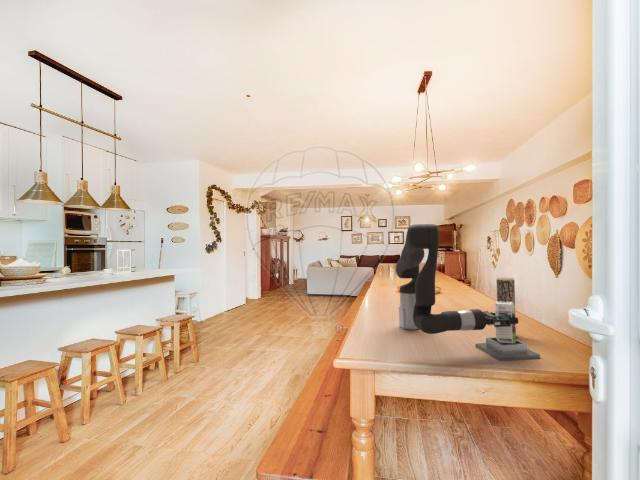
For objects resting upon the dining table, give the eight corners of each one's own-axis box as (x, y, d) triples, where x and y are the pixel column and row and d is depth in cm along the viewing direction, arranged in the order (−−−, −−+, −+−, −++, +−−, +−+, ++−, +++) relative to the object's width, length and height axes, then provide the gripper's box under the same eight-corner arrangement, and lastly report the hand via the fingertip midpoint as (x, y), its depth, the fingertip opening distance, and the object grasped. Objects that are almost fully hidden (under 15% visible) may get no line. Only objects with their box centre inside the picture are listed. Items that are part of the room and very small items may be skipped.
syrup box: (498, 342, 118) (497, 303, 118) (495, 338, 124) (494, 300, 124) (515, 344, 116) (515, 304, 116) (512, 339, 121) (511, 301, 122)
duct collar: (500, 360, 112) (499, 348, 112) (475, 346, 127) (475, 336, 127) (540, 358, 113) (539, 346, 113) (511, 344, 128) (510, 333, 128)
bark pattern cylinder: (518, 337, 136) (516, 279, 136) (501, 337, 137) (499, 279, 138) (512, 333, 143) (510, 277, 143) (495, 332, 144) (494, 277, 144)
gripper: (479, 314, 111) (523, 311, 113) (458, 306, 126) (497, 304, 127) (480, 335, 111) (524, 333, 113) (458, 325, 126) (498, 323, 127)
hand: (509, 317), depth 120 cm, fingers closed on syrup box, 7 cm apart
